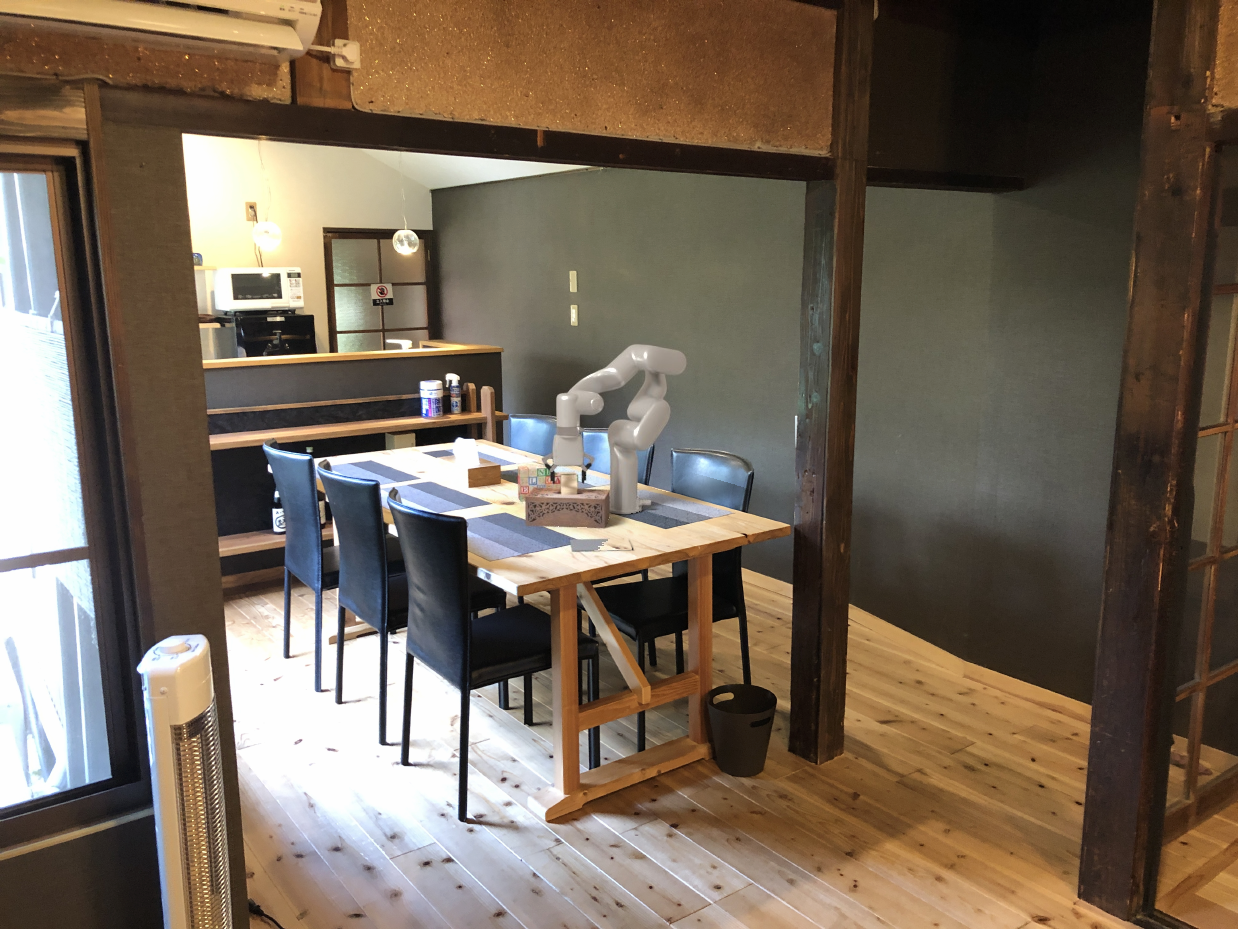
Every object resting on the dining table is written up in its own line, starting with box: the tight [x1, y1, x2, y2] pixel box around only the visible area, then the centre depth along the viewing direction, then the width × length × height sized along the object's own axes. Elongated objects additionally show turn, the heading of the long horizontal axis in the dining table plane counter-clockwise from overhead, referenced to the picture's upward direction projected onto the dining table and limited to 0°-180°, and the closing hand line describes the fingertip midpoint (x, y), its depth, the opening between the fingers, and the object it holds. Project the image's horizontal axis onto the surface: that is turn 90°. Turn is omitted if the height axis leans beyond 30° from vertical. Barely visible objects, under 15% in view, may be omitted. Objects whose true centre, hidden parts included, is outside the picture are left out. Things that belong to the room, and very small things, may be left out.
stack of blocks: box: [517, 464, 579, 503], centre depth 342 cm, size 21×6×12 cm, turn 104°
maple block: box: [560, 474, 577, 495], centre depth 308 cm, size 5×5×6 cm
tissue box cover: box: [524, 487, 611, 529], centre depth 310 cm, size 26×14×10 cm, turn 84°
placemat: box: [569, 538, 609, 552], centre depth 282 cm, size 18×12×1 cm, turn 96°
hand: (568, 483), depth 308 cm, fingers open, 9 cm apart
